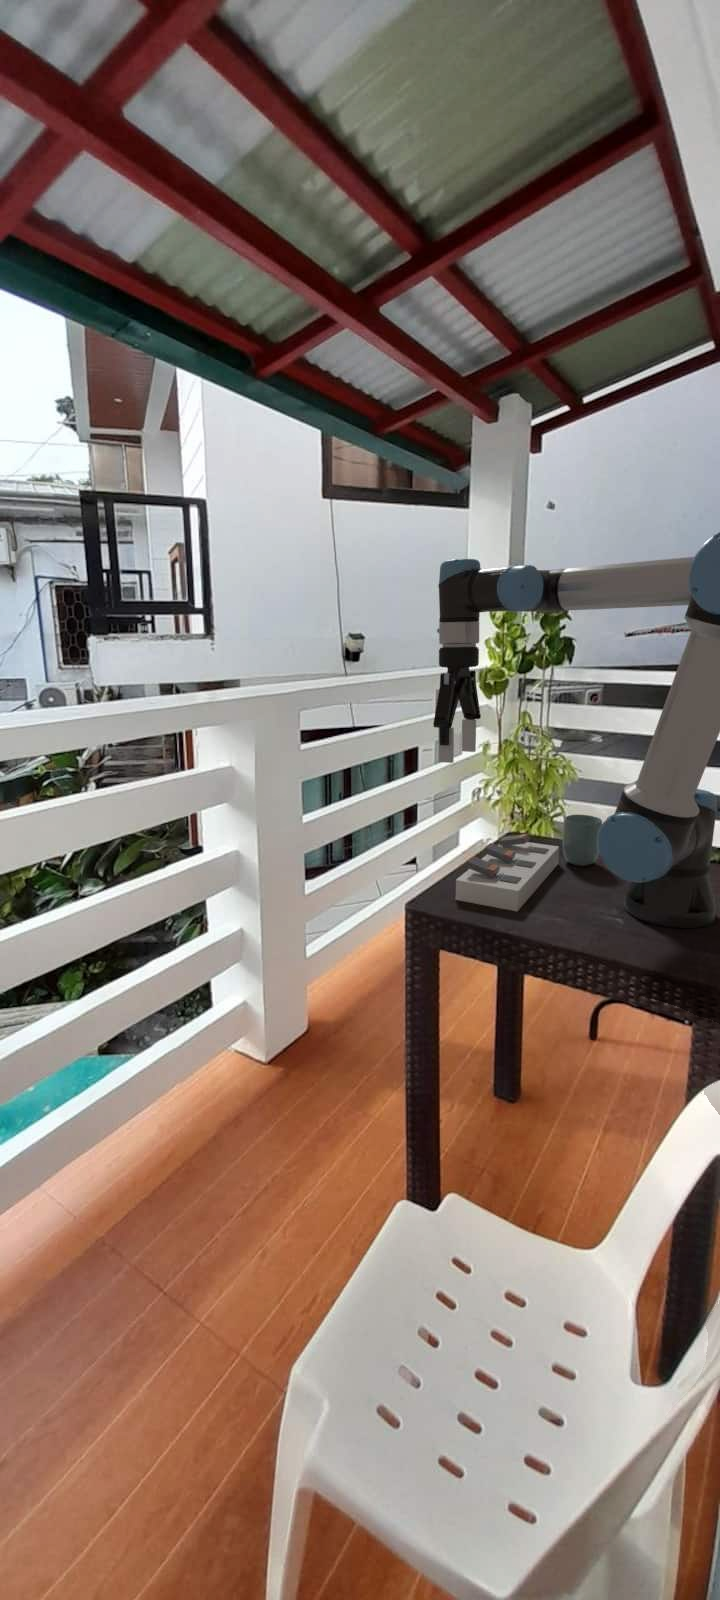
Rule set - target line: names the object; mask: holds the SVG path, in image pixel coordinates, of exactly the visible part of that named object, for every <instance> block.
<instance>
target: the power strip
mask: <svg viewBox="0 0 720 1600" xmlns="http://www.w3.org/2000/svg"><path fill="white" fill-rule="evenodd" d="M497 845H498V846H500V843H499V844H497ZM500 847H503V848H505V849H508V850H510V851H513V852H515V853H516V855H515V858H514V859H513V860H512V861H511V862H510V863H507V862H505V861H503V860H500V859H498V858H495V857H493V856H490V855H488V854H485V856H483V857H482V858H481V859H482V860H484V861H487V862H489V863H492V864H494V865H497V866H499V867H500V870H499V873H498V874H497V875H496V876H495V877H494V878H491V877H488V876H486V875H483V874H481V873H479V872H476V871H474V870H472V869H469V868H468V870H466V871H465V872H463V873H462V875H460V876H459V877H458V878H456V879H455V901H460V902H465V903H469V904H470V903H471V904H476V905H481V906H487V907H490V908H491V907H493V908H497V909H501V910H507V911H513V912H518V911H519V910H520V909H521V908H522V907H523V906H524V904H525V903H526V902H527V901H528V900H529V899H530V898H531V896H532V895H533V894H534V892H535V893H536V890H538V888H539V887H540V886H541V885H542V883H543V882H544V881H545V880H546V879H547V878H548V876H549V875H551V873H552V872H553V871H554V870H555V868H556V867H558V866H559V857H560V856H559V855H560V846H557V845H551V844H543V843H537V842H529V841H528V842H526V843H525V844H517V845H507V846H500Z"/></svg>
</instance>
